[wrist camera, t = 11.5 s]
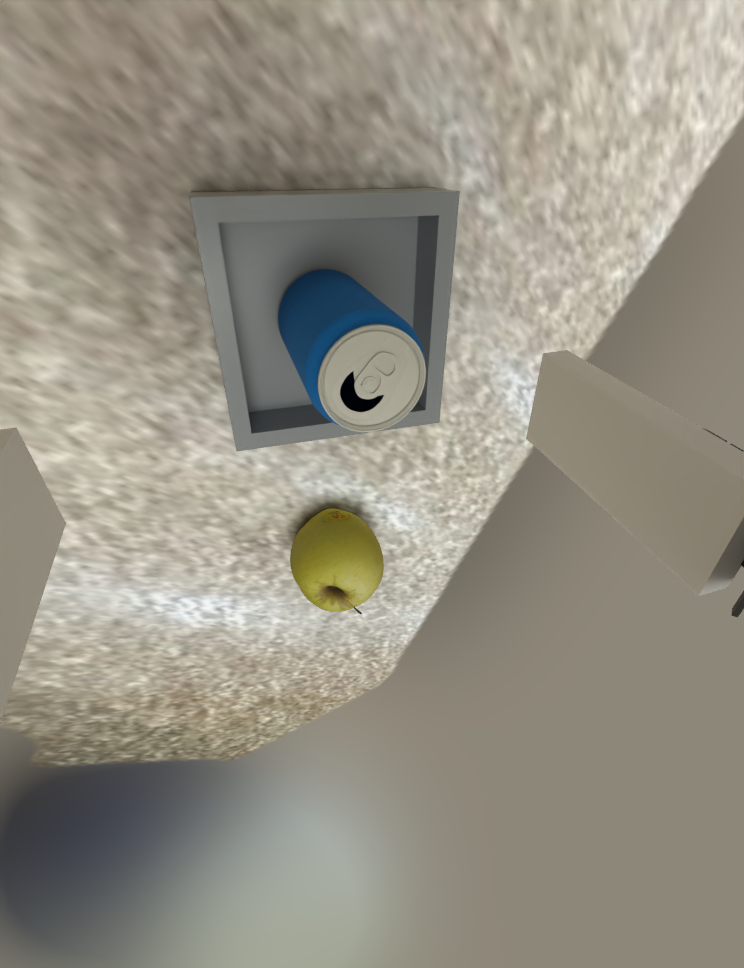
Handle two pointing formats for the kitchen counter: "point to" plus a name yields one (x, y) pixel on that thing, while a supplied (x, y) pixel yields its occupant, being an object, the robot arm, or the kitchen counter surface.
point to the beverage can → (351, 351)
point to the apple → (336, 560)
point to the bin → (305, 248)
